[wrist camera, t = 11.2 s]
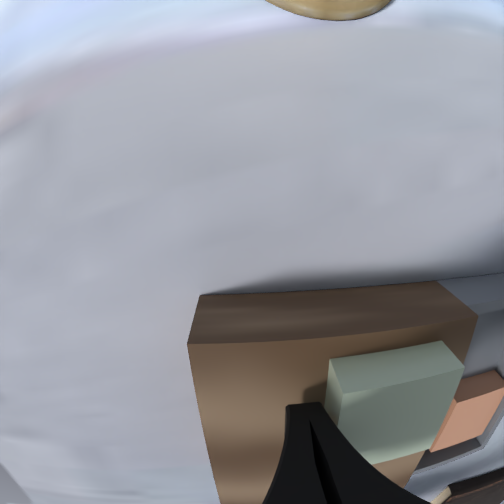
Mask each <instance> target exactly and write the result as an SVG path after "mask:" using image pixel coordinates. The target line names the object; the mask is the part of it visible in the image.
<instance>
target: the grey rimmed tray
mask: <svg viewBox="0 0 504 504" xmlns="http://www.w3.org/2000/svg"><path fill="white" fill-rule="evenodd" d="M436 281H437V282H438V283H440V284H441V285H442V286H443V287H445V288H446V289H447V290H448V291H450V292H451V293H452V294H453V295H454V296H456V297H457V298H458V299H459V300H461V301H462V302H463V303H464V304H465V305H467V306H468V307H469V308H470V309H471V310H473V311H474V312H475V313H476V314H477V315H478V320H477V323H476V327H475V330H474V333H473V337H472V340H471V343H470V346H469V349H468V352H467V355H466V358H465V361H464V364H463V365H464V366H465V369H464V372H463V374H462V377H461V379H464V378H468V377H471V376H475V375H479V374H482V373H485V372H489V371H492V370H495V371H496V372H497V373H498V374H499V375H500V376H501V377H502V378H503V380H504V273H499V274H491V275H482V276H474V277H465V278H456V279H446V280H436ZM503 415H504V396H503V398H502V400H501V402H500V404H499V406H498V407H497V409H496V411H495V413H494V415H493V416H492V418H491V420H490V422H489V423H488V425H487V427H486V428H485V430H484V432H483V433H482V435H479V436H477V437H474V438H472V439H469V440H466V441H464V442H461V443H458V444H455V445H452V446H450V447H447V448H444V449H440V450H437V451H434V452H430V450H429V449H427V450H425V452H424V454H423V456H422V458H421V459H420V461H419V463H418V465H417V467H416V468H415V470H414V472H413V474H412V475H414V474H418V473H421V472H424V471H427V470H430V469H433V468H436V467H438V466H441V465H444V464H447V463H449V462H452V461H455V460H457V459H460V458H462V457H465V456H467V455H469V454H472V453H474V452H476V451H479V450H481V449H483V448H484V447H485V445H486V444H487V442H488V441H489V439H490V437H491V436H492V434H493V433H494V431H495V429H496V427H497V426H498V424H499V422H500V421H501V419H502V417H503Z"/></svg>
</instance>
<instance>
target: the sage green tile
mask: <svg viewBox="0 0 504 504" xmlns="http://www.w3.org/2000/svg"><path fill="white" fill-rule="evenodd" d="M464 369H465V366H464V365H463V364H462V363H461V362H460V361H459V359H458V358H457V357H456V356H455V355H454V354H453V353H452V351H451V350H450V349H449V348H448V347H447V346H446V345H445V344H444V342H443V341H442V340H441V341H436V342H431V343H426V344H421V345H416V346H411V347H405V348H400V349H394V350H388V351H382V352H376V353H369V354H362V355H355V356H348V357H340V358H332V359H330V360H329V370H328V380H327V389H326V397H325V405H324V408H325V410H326V412H327V413H328V415H329V416H330V418H331V419H332V420H333V422H334V423H335V425H336V426H337V427H338V429H339V430H340V431H341V433H342V434H343V435H344V436H345V437H346V439H347V440H348V441H349V442H350V443H351V445H352V446H353V447H354V448H355V449H356V450H357V451H358V452H359V453H360V454H361V455H362V456H363V457H364V458H365V459H366V460H367V461H368V462H369V463H370V464H371V465H372V464H377V463H381V462H385V461H389V460H393V459H396V458H400V457H404V456H407V455H411V454H414V453H417V452H420V451H424V450H427V449H430V447H431V445H432V444H433V442H434V440H435V437H436V435H437V433H438V431H439V429H440V427H441V425H442V423H443V421H444V418H445V416H446V414H447V412H448V409H449V407H450V405H451V402H452V400H453V398H454V395H455V393H456V390H457V388H458V385H459V382H460V380H461V377H462V374H463V372H464Z"/></svg>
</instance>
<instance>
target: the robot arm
mask: <svg viewBox="0 0 504 504" xmlns="http://www.w3.org/2000/svg"><path fill="white" fill-rule="evenodd" d="M284 437H285V438H284V444H283V449H282V452H281V456H280V460H279V463H278V466H277V469H276V472H275V475H274V478H273V480H272V483H271V485H270V487H269V490H268V492H267V494H266V496H265V499H264V501H263V503H262V504H432V503H430V502H427V501H425V500H423V499H421V498H419V497H417V496H415V495H413V494H412V493H410V492H408V491H406V490H405V489H403V488H402V487H400V486H399V485H397V484H396V483H394V482H393V481H391V480H390V479H388V478H387V477H386V476H384V475H383V474H382V473H381V472H379V471H378V470H377V469H376V468H375V467H373V466H372V465H371V464H370V463H369V462H368V461H367V460H366V459H365V458H364V457H363V456H362V455H361V454H360V453H359V452H358V451H357V450H356V449H355V448H354V447H353V446H352V445H351V443H350V442H349V441H348V440H347V439H346V437H345V436H344V435H343V434H342V433H341V431H340V430H339V429H338V427H337V426H336V425H335V423H334V422H333V420H332V419H331V418H330V416H329V415H328V413H327V412H326V410H325V408H324V407H323V405H322V403H320V402H310V403H300V404H289V405H287V406H286V407H285V432H284Z"/></svg>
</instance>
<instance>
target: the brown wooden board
mask: <svg viewBox="0 0 504 504" xmlns="http://www.w3.org/2000/svg"><path fill="white" fill-rule="evenodd" d="M477 320H478V315H477V314H476V313H475V312H474V311H473V310H471V309H470V308H469V307H468V306H467V305H465V304H464V303H463V302H462V301H461V300H459V299H458V298H457V297H456V296H454V295H453V294H452V293H451V292H450V291H448V290H447V289H446V288H445V287H443V286H442V285H441V284H440V283H438V282H437V281H426V282H416V283H405V284H393V285H381V286H369V287H356V288H342V289H327V290H311V291H293V292H274V293H253V294H227V295H200V296H199V300H198V304H197V308H196V311H195V315H194V319H193V323H192V327H191V331H190V334H189V338H188V342H187V347H188V353H189V359H190V365H191V370H192V376H193V382H194V387H195V392H196V398H197V403H198V408H199V413H200V418H201V423H202V427H203V432H204V437H205V441H206V446H207V450H208V455H209V459H210V463H211V467H212V471H213V476H214V480H215V484H216V488H217V491H218V495H219V499H220V503H221V504H262V503H263V501H264V499H265V496H266V494H267V492H268V490H269V487H270V485H271V483H272V480H273V478H274V475H275V472H276V469H277V466H278V463H279V460H280V456H281V452H282V449H283V444H284V438H285V437H284V432H285V407H286V406H287V405H289V404H300V403H310V402H320V403H322V405H323V407H324V405H325V397H326V389H327V380H328V370H329V360H330V359H332V358H340V357H348V356H355V355H362V354H369V353H376V352H382V351H388V350H394V349H400V348H405V347H411V346H416V345H421V344H426V343H431V342H436V341H441V340H442V341H443V342H444V344H445V345H446V346H447V347H448V348H449V349H450V350H451V351H452V353H453V354H454V355H455V356H456V357H457V358H458V359H459V361H460V362H461V363H462V364H464V361H465V358H466V355H467V352H468V349H469V346H470V343H471V340H472V337H473V333H474V330H475V327H476V323H477ZM424 452H425V450H424V451H420V452H417V453H414V454H411V455H407V456H404V457H400V458H396V459H393V460H389V461H385V462H381V463H377V464H372V466H373V467H375V468H376V469H377V470H378V471H379V472H381V473H382V474H383V475H384V476H386V477H387V478H388V479H390V480H391V481H393V482H394V483H396V484H397V485H399V486H400V487H402V488H404V487H405V485H406V484H407V482H408V480H409V479H410V477H411V475H412V474H413V472H414V470H415V468H416V467H417V465H418V463H419V461H420V459H421V458H422V456H423V454H424Z"/></svg>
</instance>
